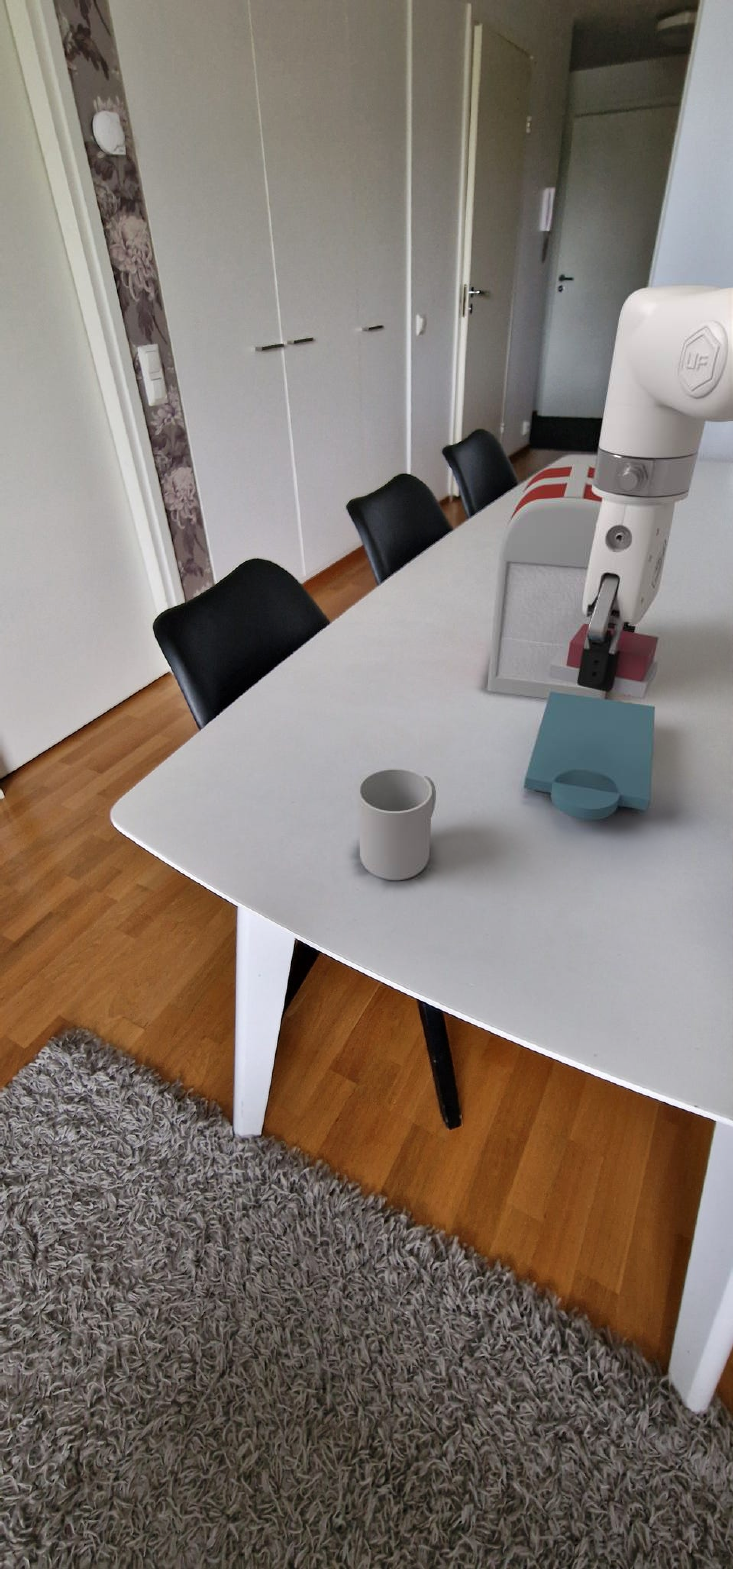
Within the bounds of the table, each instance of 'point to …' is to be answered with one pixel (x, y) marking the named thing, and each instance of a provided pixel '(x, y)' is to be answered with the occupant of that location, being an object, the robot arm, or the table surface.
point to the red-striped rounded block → (543, 582)
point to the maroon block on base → (632, 664)
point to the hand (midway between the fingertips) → (602, 672)
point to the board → (593, 755)
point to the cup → (395, 822)
